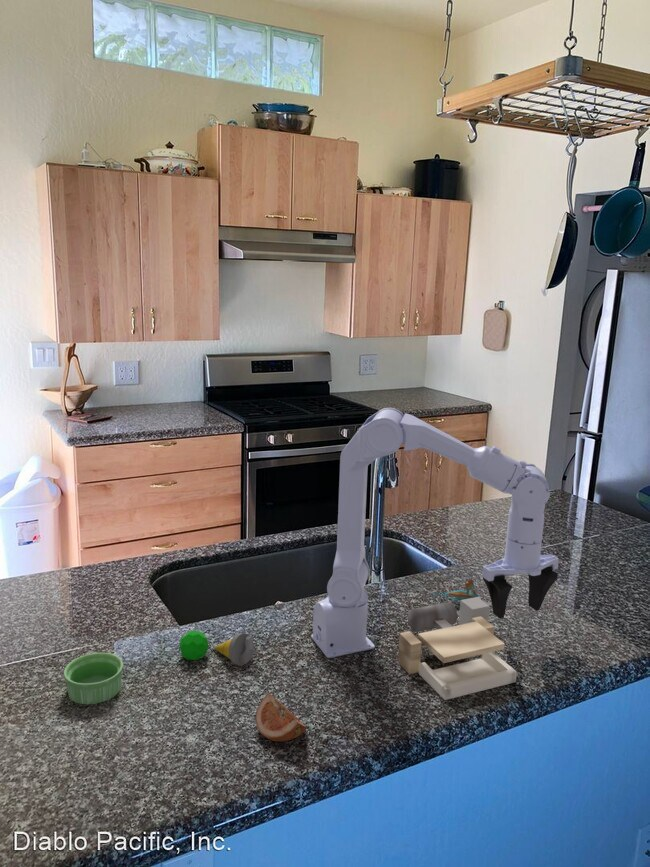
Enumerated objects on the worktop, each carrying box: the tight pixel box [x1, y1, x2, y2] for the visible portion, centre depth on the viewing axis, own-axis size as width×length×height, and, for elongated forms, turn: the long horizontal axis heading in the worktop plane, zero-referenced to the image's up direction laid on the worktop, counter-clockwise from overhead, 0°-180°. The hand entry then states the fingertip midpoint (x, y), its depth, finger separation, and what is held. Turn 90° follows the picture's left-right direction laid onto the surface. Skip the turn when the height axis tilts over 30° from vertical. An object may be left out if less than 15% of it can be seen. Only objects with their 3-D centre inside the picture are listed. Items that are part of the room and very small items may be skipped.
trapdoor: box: [407, 601, 506, 664], centre depth 120 cm, size 15×12×4 cm
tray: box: [418, 651, 518, 701], centre depth 116 cm, size 14×8×2 cm, turn 113°
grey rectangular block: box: [458, 596, 491, 625], centre depth 133 cm, size 4×4×5 cm
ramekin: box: [63, 652, 124, 705], centre depth 109 cm, size 9×9×4 cm
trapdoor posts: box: [397, 616, 495, 675], centre depth 121 cm, size 4×17×6 cm, turn 113°
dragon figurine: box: [430, 578, 479, 602], centre depth 143 cm, size 6×7×8 cm
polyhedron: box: [178, 630, 209, 661], centre depth 120 cm, size 5×5×5 cm
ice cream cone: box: [213, 632, 257, 667], centre depth 120 cm, size 5×5×10 cm
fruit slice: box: [255, 692, 308, 742], centre depth 100 cm, size 8×7×5 cm
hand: (516, 611), depth 118 cm, fingers open, 7 cm apart
